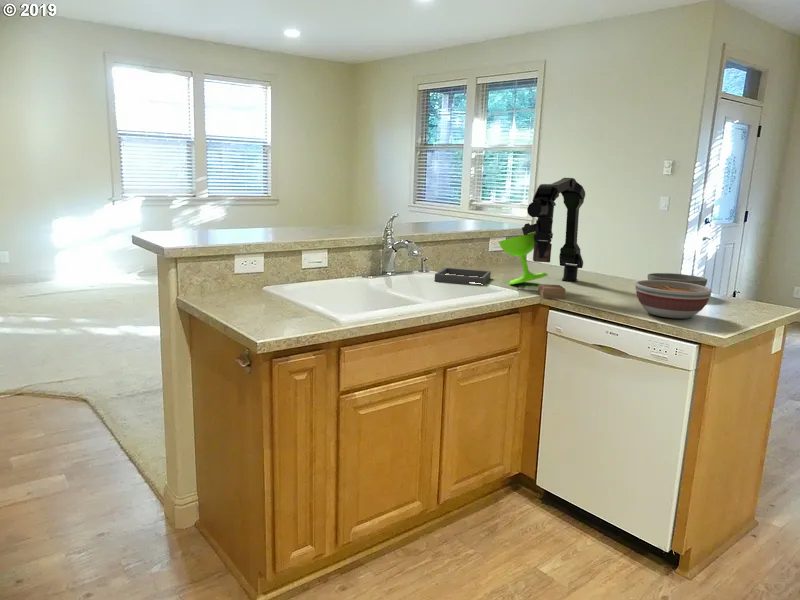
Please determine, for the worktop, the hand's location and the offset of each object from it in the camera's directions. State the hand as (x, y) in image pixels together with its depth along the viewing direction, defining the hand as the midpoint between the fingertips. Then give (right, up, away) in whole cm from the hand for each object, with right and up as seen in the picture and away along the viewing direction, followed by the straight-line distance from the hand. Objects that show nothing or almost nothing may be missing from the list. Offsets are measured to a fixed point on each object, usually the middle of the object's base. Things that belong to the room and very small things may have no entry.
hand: (541, 257), depth 236 cm
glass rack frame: (-29, -8, +19) cm, 35 cm away
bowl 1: (+52, -15, +1) cm, 54 cm away
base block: (+1, -15, -10) cm, 19 cm away
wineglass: (-3, -8, +10) cm, 14 cm away
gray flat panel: (-1, -12, +3) cm, 13 cm away
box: (0, -2, 0) cm, 2 cm away
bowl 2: (+34, -22, -36) cm, 54 cm away
